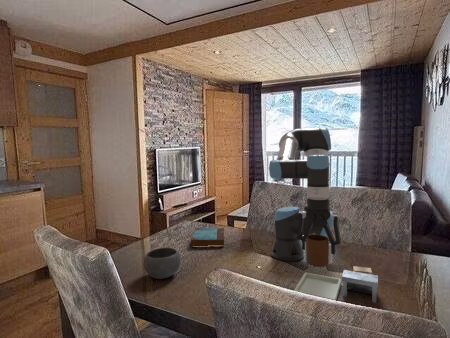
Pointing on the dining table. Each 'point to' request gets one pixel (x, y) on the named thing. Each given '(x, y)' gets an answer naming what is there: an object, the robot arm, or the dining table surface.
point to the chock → (362, 270)
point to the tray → (319, 285)
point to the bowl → (162, 262)
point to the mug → (317, 250)
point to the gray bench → (360, 283)
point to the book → (208, 237)
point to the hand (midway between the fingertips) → (318, 260)
